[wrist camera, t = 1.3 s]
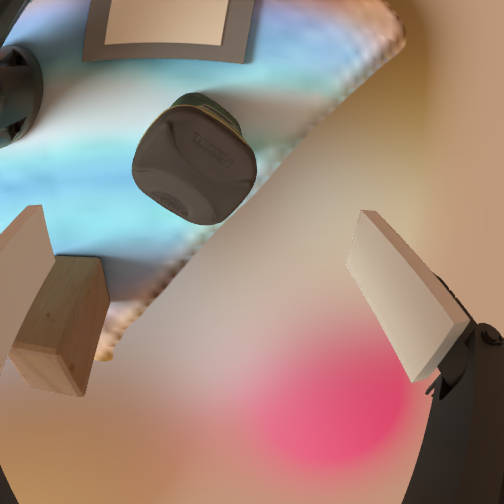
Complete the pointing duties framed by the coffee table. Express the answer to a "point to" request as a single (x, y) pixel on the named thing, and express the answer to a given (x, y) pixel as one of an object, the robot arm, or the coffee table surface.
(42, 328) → the wooden block
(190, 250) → the coffee table surface
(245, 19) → the grey square frame
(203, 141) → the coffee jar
